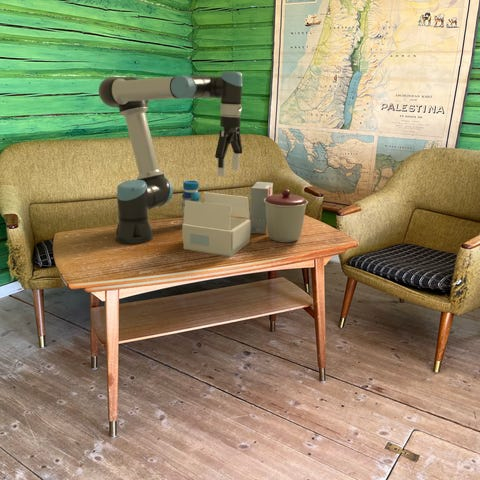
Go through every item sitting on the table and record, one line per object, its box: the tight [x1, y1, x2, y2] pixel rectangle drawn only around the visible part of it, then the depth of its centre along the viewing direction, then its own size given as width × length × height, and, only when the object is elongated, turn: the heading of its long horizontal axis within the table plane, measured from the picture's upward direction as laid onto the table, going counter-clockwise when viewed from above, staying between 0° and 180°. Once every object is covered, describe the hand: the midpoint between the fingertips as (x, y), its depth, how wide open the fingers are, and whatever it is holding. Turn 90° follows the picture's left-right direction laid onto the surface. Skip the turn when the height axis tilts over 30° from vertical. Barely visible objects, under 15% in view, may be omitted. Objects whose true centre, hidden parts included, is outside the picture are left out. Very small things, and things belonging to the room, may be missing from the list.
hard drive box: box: [249, 181, 274, 235], centre depth 213 cm, size 16×8×20 cm, turn 168°
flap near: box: [182, 200, 232, 230], centre depth 180 cm, size 19×9×1 cm
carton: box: [181, 216, 251, 258], centre depth 191 cm, size 22×18×10 cm
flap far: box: [203, 191, 250, 219], centre depth 195 cm, size 19×9×1 cm
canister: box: [264, 188, 309, 243], centre depth 200 cm, size 18×18×21 cm
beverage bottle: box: [181, 180, 201, 220], centre depth 216 cm, size 8×8×20 cm
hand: (228, 173), depth 185 cm, fingers open, 13 cm apart
